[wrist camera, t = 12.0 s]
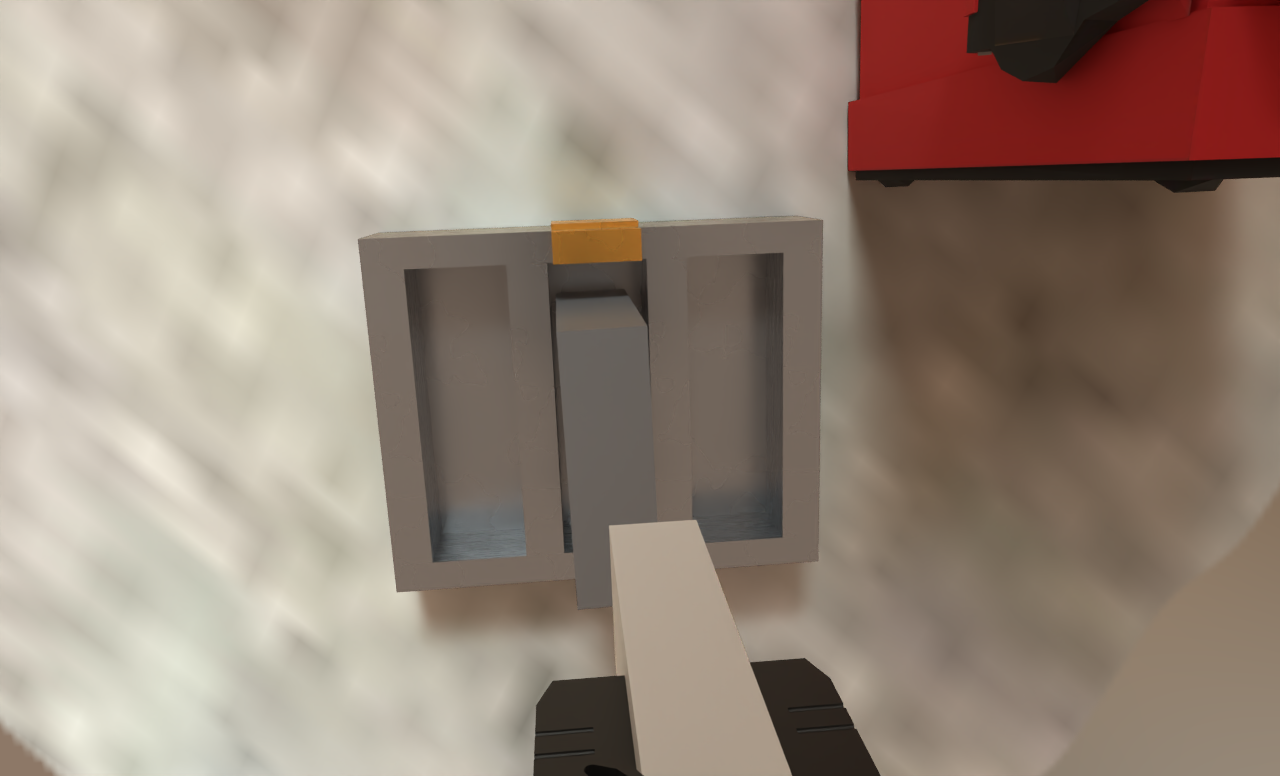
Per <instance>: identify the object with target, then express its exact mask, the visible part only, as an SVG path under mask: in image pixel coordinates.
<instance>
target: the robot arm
mask: <svg viewBox="0 0 1280 776" xmlns="http://www.w3.org/2000/svg"><path fill="white" fill-rule="evenodd" d="M609 536H610V558H611V580H612V602H613V624H614V646H615V667H616V676H609V677H597V678H584V679H572V680H559V681H552V683H551V684H550V686H549V687H548V689H547V690H546V692H545V693H544V695H543V696H542V698H541V699H540V701H539V702H538V704H537V705H536V728H535V751H534V757H535V760H534V774H533V776H880V774H879V772H878V770H877V768H876V766H875V764H874V762H873V760H872V758H871V756H870V754H869V752H868V750H867V749H866V747H865V745H864V743H863V741H862V739H861V737H860V735H859V733H858V731H857V729H854V723H853V722H852V720H851V718H850V716H849V714H848V712H847V710H846V708H844V707H843V702H842V700H841V698H840V696H839V694H838V693H837V691H836V689H835V687H834V685H833V683H832V681H831V679H830V678H829V677H828V676H827V675H825V674H824V673H823V672H821V671H820V670H819V669H818V668H816V667H815V666H814V665H813V664H811V663H810V662H809V661H808V660H806V659H805V658H801V659H789V660H776V661H764V662H751V663H750V662H749V659H748V656H747V654H746V651H745V648H744V646H743V643H742V640H741V638H740V635H739V632H738V630H737V627H736V624H735V622H734V619H733V616H732V614H731V611H730V608H729V606H728V603H727V600H726V598H725V595H724V592H723V590H722V587H721V584H720V582H719V579H718V576H717V574H716V571H715V568H714V566H713V563H712V560H711V558H710V555H709V552H708V550H707V547H706V544H705V542H704V539H703V536H702V534H701V531H700V528H699V526H698V523H697V520H684V521H669V522H654V523H639V524H624V525H609Z"/></svg>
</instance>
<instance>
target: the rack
mask: <svg viewBox="0 0 1280 776" xmlns="http://www.w3.org/2000/svg"><path fill="white" fill-rule="evenodd" d="M358 244H359V253H360V263H361V272H362V281H363V290H364V299H365V308H366V317H367V326H368V335H369V344H370V353H371V362H372V371H373V381H374V390H375V399H376V408H377V417H378V426H379V435H380V444H381V453H382V462H383V471H384V480H385V489H386V499H387V508H388V517H389V526H390V535H391V544H392V553H393V562H394V571H395V580H396V589H397V592H407V591H421V590H434V589H448V588H461V587H475V586H488V585H502V584H515V583H529V582H542V581H556V580H569V579H575V568H574V555H573V542H572V529H571V516H570V503H569V490H568V477H567V464H566V451H565V438H564V425H563V412H562V399H561V386H560V373H559V361H558V348H557V335H556V293H569V292H585V291H600V290H615V289H625V291H626V292H627V294H628V296H629V297H630V299H631V300H632V302H633V304H634V305H635V307H636V308H637V310H638V312H639V313H640V315H641V316H642V318H643V320H644V321H645V323H646V324H647V330H648V349H649V368H650V387H651V407H652V426H653V445H654V464H655V483H656V503H657V522H669V521H684V520H697V523H698V526H699V528H700V531H701V534H702V536H703V539H704V542H705V544H706V547H707V550H708V552H709V555H710V558H711V560H712V563H713V566H714V568H715V569H718V568H731V567H745V566H758V565H772V564H785V563H799V562H812V561H818V535H819V463H820V391H821V320H822V248H823V220H820V219H813V218H807V217H800V216H779V217H755V218H730V219H705V220H681V221H656V222H638V220H636V219H634V218H621V219H596V220H571V221H551V226H533V227H508V228H484V229H459V230H435V231H410V232H385V233H376V234H373V235H370V236H366V237H363V238H360V239H358Z"/></svg>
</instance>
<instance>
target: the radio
mask: <svg viewBox="0 0 1280 776" xmlns="http://www.w3.org/2000/svg"><path fill="white" fill-rule="evenodd" d="M848 171H856V180H878V181H879V182H880V183H881V184H882V185H884V186H885V187H898V186H908V185H910V184H911V183H912V182H913V181H915V180H1154V181H1156V182H1157V183H1159V184H1161V185H1162V186H1164V187H1166V188H1167V189H1169V190H1171V191H1172V192H1174V193H1178V192H1197V191H1215V190H1216V189H1217V187H1218V186H1219V185H1220V183H1221V182H1222V181H1223V179H1239V178H1265V177H1280V0H861V50H860V100H856V101H852V102H848Z"/></svg>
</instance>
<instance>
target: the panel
mask: <svg viewBox="0 0 1280 776" xmlns="http://www.w3.org/2000/svg"><path fill="white" fill-rule="evenodd" d="M556 335H557V348H558V361H559V373H560V386H561V399H562V412H563V425H564V438H565V451H566V464H567V477H568V490H569V503H570V516H571V529H572V542H573V555H574V568H575V581H576V593H577V606H578V610H580V609H591V608H601V607H612V606H613V602H612V580H611V558H610V536H609V525H624V524H639V523H654V522H657V503H656V483H655V464H654V445H653V426H652V407H651V387H650V368H649V349H648V330H647V324H646V323H645V321H644V320H643V318H642V316H641V315H640V313H639V312H638V310H637V308H636V307H635V305H634V304H633V302H632V300H631V299H630V297H629V296H628V294H627V292H626V291H625V289H615V290H600V291H585V292H569V293H556Z"/></svg>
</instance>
